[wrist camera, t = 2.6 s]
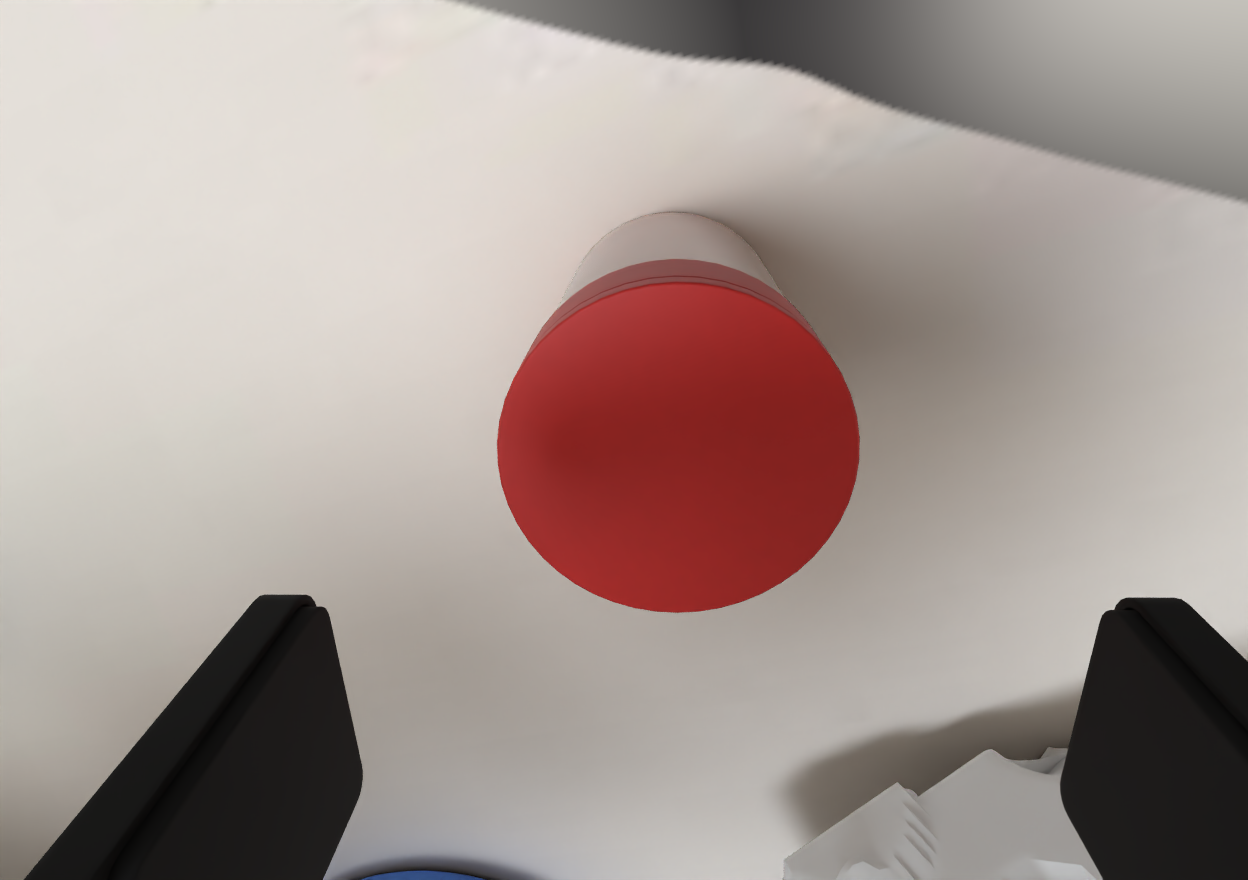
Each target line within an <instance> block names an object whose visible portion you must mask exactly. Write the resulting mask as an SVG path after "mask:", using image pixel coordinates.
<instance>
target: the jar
mask: <svg viewBox="0 0 1248 880" xmlns="http://www.w3.org/2000/svg"><path fill="white" fill-rule="evenodd" d="M666 259H690V260H700V261H706V262H712V263H717V264H721V265H724V266H727V267H730V268H733V269H737V270H740V271H742V272H744V273H746V274H748V275H750V276H752V277H754V278H757V279H759V280H760V281H762V282H763V283H765V284H767V285H768V286H770V287H771V288H773V289H774V290H776V291H777V292H778V293H780V294H781V295H782V296H783V294H782V292H781V291H780V289H779V288H778V286H777V285H776V283H775V281H774V280H773V278H772V277H771V275H770V274H769V272H768V270H767V269H766V267H765V266H764V264H763V263H762V261H761V260H760V258H759V256H758V255H757V253H756V252H755V251H754V250H753V249H752V248H751V246H750V245H749V244H748V243H747V242H746V241H745V240H744V239H742V238H741V237H740V236H739V235H738V234H737V233H735V232H734V231H732V230H731V229H729V228H728V227H726V226H724V225H722V224H720V223H718V222H716V221H714V220H712V219H709V218H706V217H702V216H699V215H695V214H689V213H681V212H665V213H655V214H650V215H646V216H642V217H639V218H636V219H634V220H631V221H628V222H626V223H624V224H623V225H621V226H619V227H617V228H615V229H614V230H612V231H611V232H610V233H608V234H607V235H605V236H604V237H603V238H602V239H601V240H600V241H599V242H598V243H597V244H595V245H594V246H593V247H592V249H591V250H590V251H589V252H588V254H587V255H586V256H585V258H584V259H583V261H582V262H581V264H580V266H579V267H578V269H577V271H576V273H575V275H574V277H573V279H572V281H571V282H570V284H569V286H568V288H567V290H566V292H565V294H564V296H563V298H562V300H561V302H560V304H559V306H558V308H559V307H560V306H561V305H562V304H563V303H565V302H566V301H567V300H568V299H569V298H570V297H571V296H572V295H574V294H575V293H576V292H578V291H579V290H581V289H582V288H583V287H585V286H586V285H588V284H589V283H591V282H593V281H595V280H597V279H599V278H601V277H602V276H604V275H606V274H608V273H611V272H614V271H616V270H619V269H622V268H624V267H627V266H630V265H635V264H639V263H644V262H648V261H655V260H666ZM783 297H784V296H783ZM784 298H785V297H784ZM558 308H557V309H558Z"/></svg>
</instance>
